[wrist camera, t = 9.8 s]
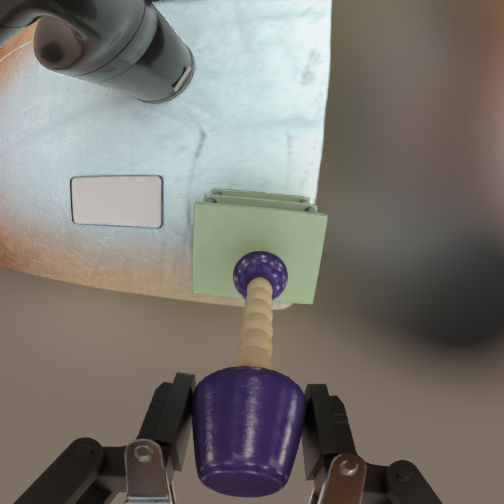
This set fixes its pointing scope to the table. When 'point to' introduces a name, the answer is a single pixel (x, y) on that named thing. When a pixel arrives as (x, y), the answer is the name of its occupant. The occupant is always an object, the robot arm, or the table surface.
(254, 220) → the shelf
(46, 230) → the table surface
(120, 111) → the table surface
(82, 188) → the smartphone
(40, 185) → the table surface
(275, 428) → the toy lamp
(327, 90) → the table surface
